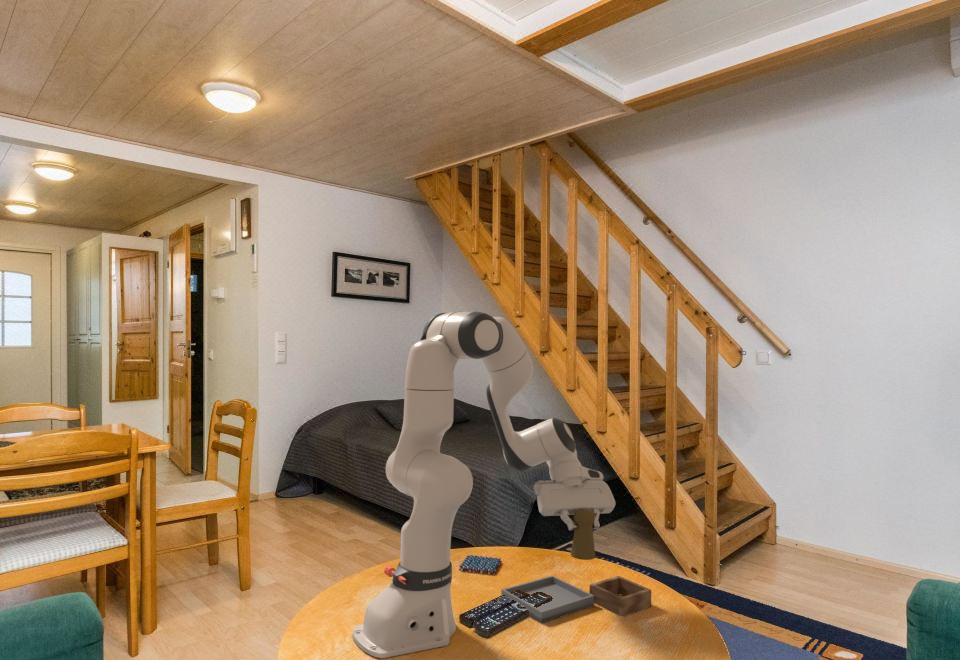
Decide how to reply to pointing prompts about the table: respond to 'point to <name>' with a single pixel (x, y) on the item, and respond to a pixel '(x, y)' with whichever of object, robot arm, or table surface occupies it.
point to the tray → (563, 596)
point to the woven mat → (480, 564)
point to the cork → (583, 535)
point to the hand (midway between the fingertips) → (584, 528)
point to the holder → (632, 592)
